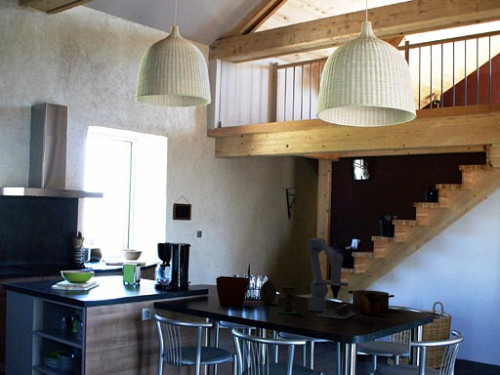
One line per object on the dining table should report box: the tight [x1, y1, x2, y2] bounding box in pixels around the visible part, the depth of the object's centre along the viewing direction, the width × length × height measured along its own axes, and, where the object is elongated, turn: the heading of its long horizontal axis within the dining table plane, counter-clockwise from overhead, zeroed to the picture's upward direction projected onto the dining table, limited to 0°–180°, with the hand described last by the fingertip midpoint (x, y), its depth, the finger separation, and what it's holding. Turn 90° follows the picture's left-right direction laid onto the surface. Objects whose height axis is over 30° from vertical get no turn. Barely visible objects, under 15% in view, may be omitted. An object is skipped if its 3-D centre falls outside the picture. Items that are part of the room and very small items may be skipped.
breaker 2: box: [341, 304, 349, 312], centre depth 375 cm, size 2×4×4 cm, turn 155°
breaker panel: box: [317, 308, 357, 320], centre depth 370 cm, size 16×22×2 cm
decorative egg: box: [259, 279, 277, 305], centre depth 409 cm, size 11×11×15 cm
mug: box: [358, 293, 380, 316], centre depth 380 cm, size 10×14×12 cm
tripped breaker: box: [334, 306, 341, 315], centre depth 363 cm, size 2×4×4 cm, turn 155°
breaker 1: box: [338, 305, 345, 314], centre depth 369 cm, size 2×4×4 cm, turn 155°
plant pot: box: [215, 275, 251, 308], centre depth 394 cm, size 19×19×17 cm
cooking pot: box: [347, 289, 395, 313], centre depth 403 cm, size 30×22×11 cm
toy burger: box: [277, 285, 298, 315], centre depth 373 cm, size 12×13×15 cm
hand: (335, 298), depth 369 cm, fingers closed
